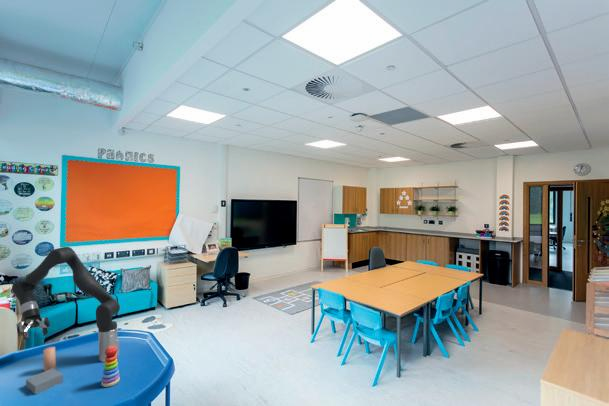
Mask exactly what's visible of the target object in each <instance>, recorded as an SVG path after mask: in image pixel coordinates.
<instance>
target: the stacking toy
mask: <svg viewBox="0 0 609 406" xmlns="http://www.w3.org/2000/svg"><path fill="white" fill-rule="evenodd" d="M116 352H117V348H116V347H115V346H110V347H108V348H107V349H106V351H105V354H106V356H107V357H106V358H105V360H106V361H105V362H104V365H103V372H102V377H101V384H100V385H101V386H102V387H105V388H109V387H112V386H115V385H116V384H118V383H119V382H120V380H121V377H120V370H119V366H118V365H119V363H118V359H117V358H118V356H117V355H116Z"/></svg>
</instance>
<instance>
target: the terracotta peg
mask: <svg viewBox="0 0 609 406" xmlns="http://www.w3.org/2000/svg"><path fill="white" fill-rule="evenodd" d="M42 356H43V357H42V359H43V372H45V371H47V370H50V369H52V368H54V369H55V370H56V369H57V368H56V363H57V362H56V359H57V358H56V347H55V346H49V347H46V348H44V349H43V351H42Z"/></svg>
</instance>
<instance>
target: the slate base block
mask: <svg viewBox="0 0 609 406" xmlns="http://www.w3.org/2000/svg"><path fill="white" fill-rule="evenodd" d="M63 378H64V374H63V373H61V372H60V371H58V370H55V369H54V368H52V369H50V370H47V371H45V372H44V371H43V372H40V373H37V374H36V375H33V376H31V377H28V378H26V379H25V385H26V388H27V389H28V390H30V391H31V392H32V393H33V394H34V395H37V394H39V393H42V392H44V391H46V390H48V389H50V388H53V387H55V386H57V385H59V384H62V383H63V382H64V379H63Z"/></svg>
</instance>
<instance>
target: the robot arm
mask: <svg viewBox="0 0 609 406" xmlns="http://www.w3.org/2000/svg"><path fill="white" fill-rule="evenodd" d="M65 263H66V265H68V267H69V268H70V269H71V271H72V279H73V283H74V285H75V286H76V287H77V288H78V290H79V291H80V292H82V293H83V294H85V295H87V296H90V297H92V298H94V299H96V300H97V301H98V302H99V303H100V304H99V305H98V306H97V307H96V308H95V322H96V327H97V329H98V331H97V333H98V361H100V362H104V363H105V361H106V360H105V358H106V357H107V356H106V354H105V351H106V349H107V348H108V347H110V346H115V347H116V348H117V352H116V355H117V357H119V356H120V339H118V323H117V322H116V321H114V320H113V318H112V317H113V316H114V315H116V314H117V313H119V312H120V309H121V307H120V304H119V301H117V299H115V298H114V297H113V295H111V294H110V293H109V292H108V291H107V290H106V289H105V288H104V287H103V286H102V285H101V284H100V282H98V280H97V279H96V277H95V276H94V275H93V274H92V272H90V271H89V270H88V269H87V267H86V266H85V265H84V264H83V262H82V261H81V259H80V258H79V256H78V255H77V253H76V251H75V250H74V249H73V248H72V247H69V246H63V247H59V248H55V249H52V250H50V252H49V253H48V254H47V255H46V257H45V258H44V259H43V260H42V262H41V263H40V264H39V265H38V266H37V267H36V268H35V269H33V271H31V272H30V273H28V274H27V275H26V277H25V280H17V281H15V282H14V283H12V286H11V291H12V293H13V294H14V296H15V297H16V299H17V300H18V301H19V306H20V313H21V318H22V321H18V323H16V331H17V334H18V335H20V334H21V335H22V336H23V339H24V340H25V341H28V340H29V339H30V335H29V331H28V330H30V329H33V328H34V329H35V328H38V329H41V331H42V335H43V337H44V336H47V335H48V333H49V332H48V328H49V327H50V326H51V323H50V320H49V318H48V316H45V317H43V318H42V317H41V313H40V307H39V305H38V303H37V300H36V296H35V294H34V293H31V292H33V291H35V290H36V288H37V286H38V285H39V283H40V282H41V281H43V280H44V279H45V278H46V277H47V276H48V274H49V272H50V270H51V269H52V268H54V267H55V266H57V265H58V266H59V265H62V264H65ZM23 325H24V326H25V328H23Z"/></svg>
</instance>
